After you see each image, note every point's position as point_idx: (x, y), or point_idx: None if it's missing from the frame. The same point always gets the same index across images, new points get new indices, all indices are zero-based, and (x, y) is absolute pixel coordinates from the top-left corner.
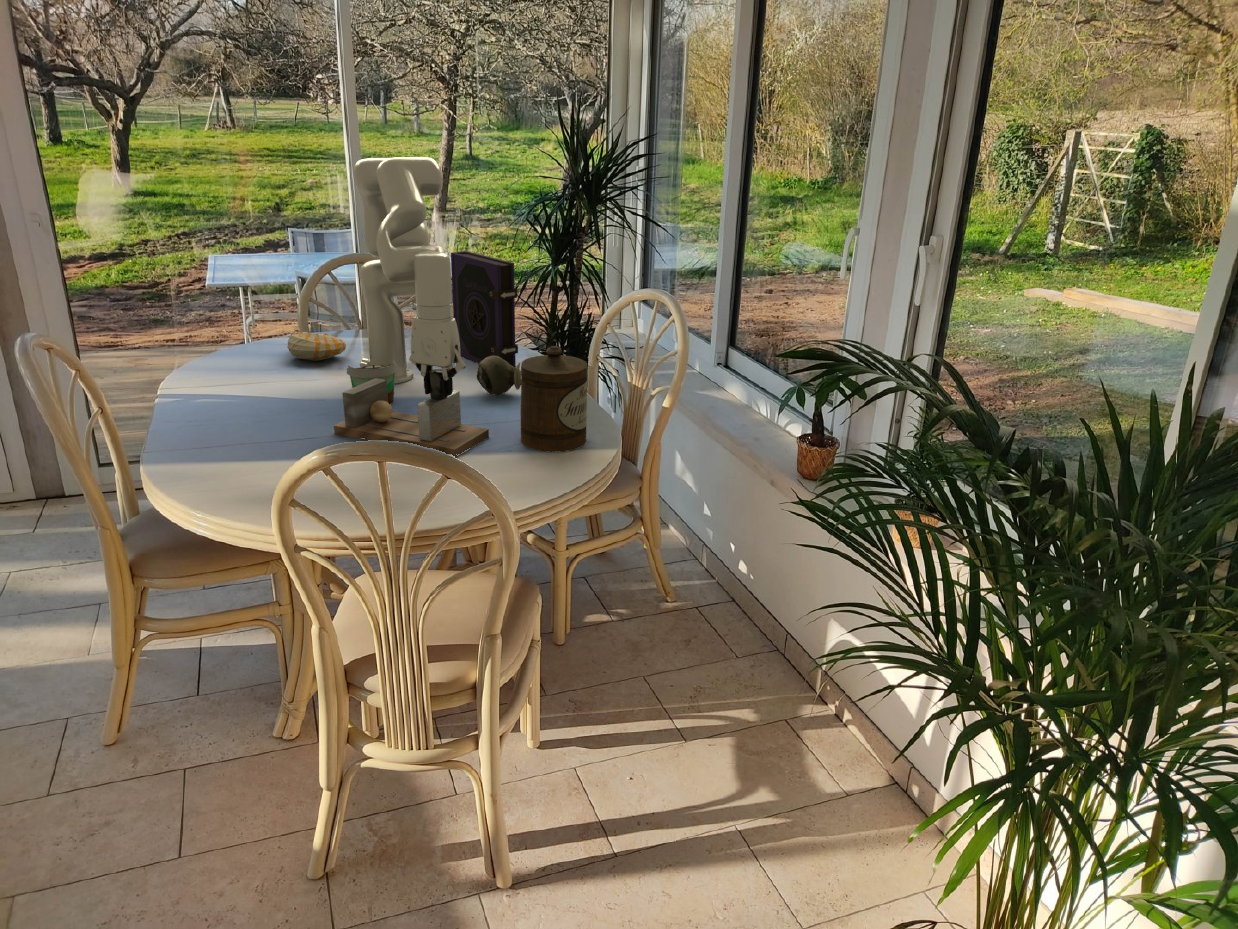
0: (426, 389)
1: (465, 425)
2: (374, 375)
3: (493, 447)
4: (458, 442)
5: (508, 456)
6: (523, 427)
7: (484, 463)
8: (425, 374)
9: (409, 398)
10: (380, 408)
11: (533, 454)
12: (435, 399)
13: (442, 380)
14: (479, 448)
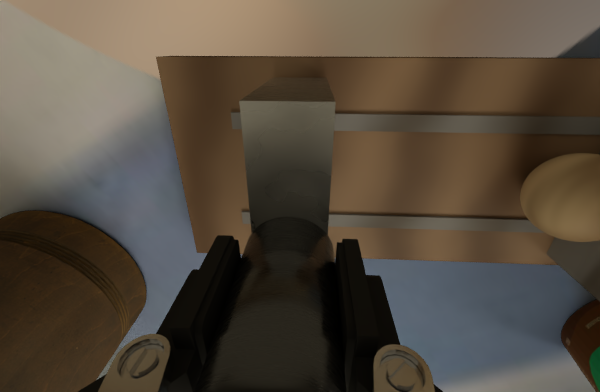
0: (347, 257)
1: None
2: None
3: (146, 185)
4: (193, 124)
5: (63, 146)
6: (52, 258)
7: (66, 61)
8: (373, 367)
9: (524, 361)
10: (590, 180)
11: (29, 186)
12: (280, 218)
13: (181, 324)
14: (171, 163)
